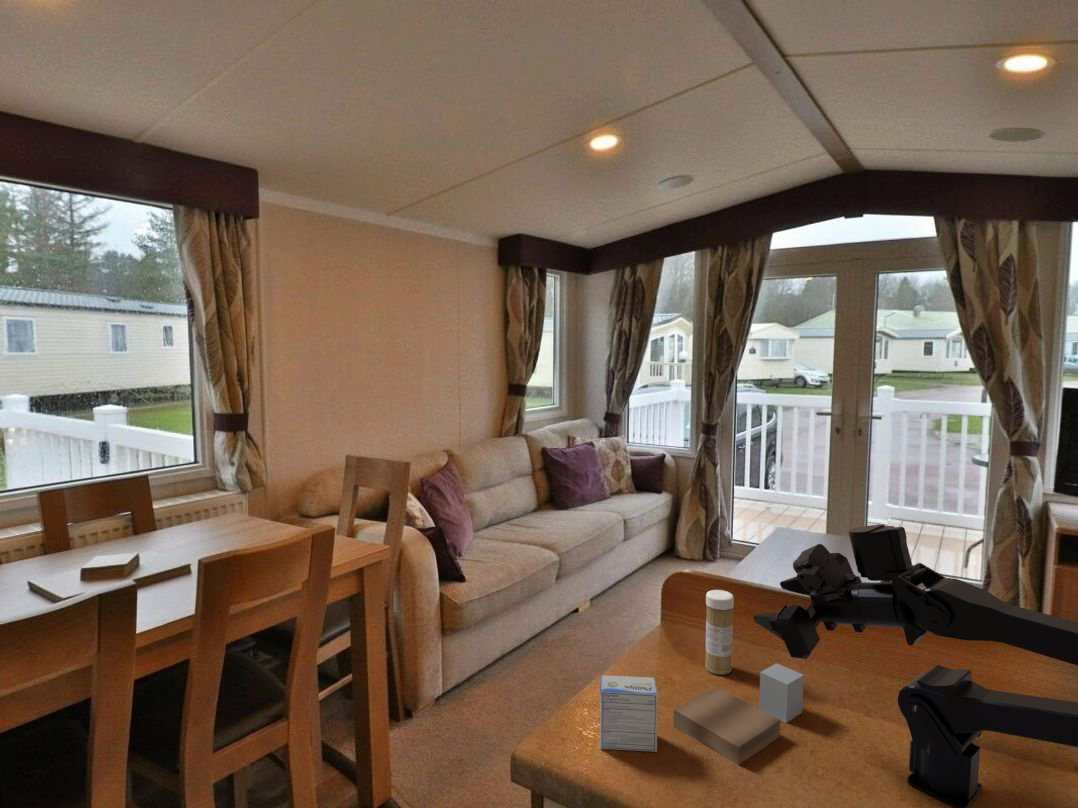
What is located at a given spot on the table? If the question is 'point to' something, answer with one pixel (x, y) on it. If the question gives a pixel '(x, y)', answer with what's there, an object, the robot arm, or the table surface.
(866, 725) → the table surface
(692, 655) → the table surface
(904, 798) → the table surface
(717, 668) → the sprinkles bottle
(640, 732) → the medicine box
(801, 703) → the grey block
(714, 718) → the brown flat block
